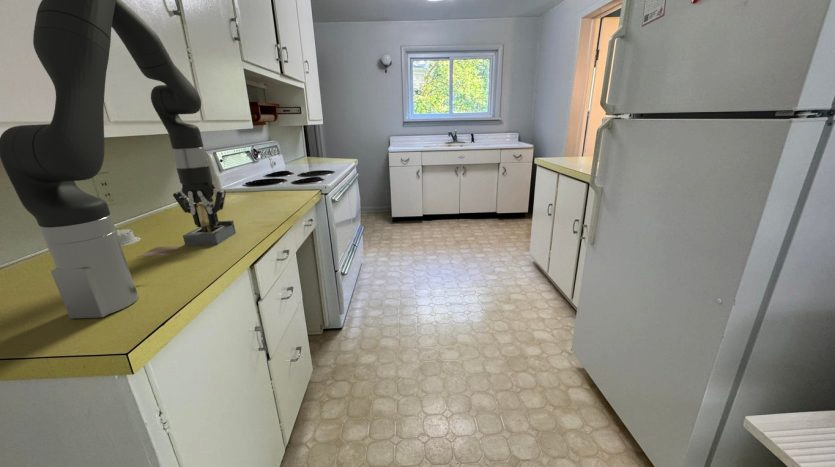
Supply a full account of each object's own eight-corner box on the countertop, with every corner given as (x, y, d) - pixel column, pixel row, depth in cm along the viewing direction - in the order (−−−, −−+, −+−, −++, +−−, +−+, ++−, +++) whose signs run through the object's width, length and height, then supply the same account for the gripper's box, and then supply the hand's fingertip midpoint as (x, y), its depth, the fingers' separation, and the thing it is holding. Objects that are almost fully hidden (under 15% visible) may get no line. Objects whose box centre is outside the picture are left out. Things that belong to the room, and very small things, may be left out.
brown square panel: (165, 259, 88) (164, 255, 87) (138, 260, 88) (137, 256, 88) (182, 249, 94) (181, 245, 94) (157, 250, 94) (156, 246, 94)
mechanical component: (93, 248, 98) (102, 256, 93) (88, 234, 97) (97, 240, 91) (136, 239, 106) (146, 245, 100) (131, 225, 104) (142, 230, 99)
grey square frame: (218, 247, 94) (214, 230, 93) (186, 249, 94) (181, 232, 93) (236, 236, 104) (233, 220, 102) (207, 237, 104) (203, 221, 102)
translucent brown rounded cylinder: (211, 233, 96) (204, 205, 94) (199, 233, 96) (192, 206, 94) (218, 229, 99) (211, 202, 97) (206, 229, 99) (200, 203, 97)
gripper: (156, 168, 88) (174, 231, 94) (210, 166, 88) (225, 229, 94) (175, 164, 95) (191, 223, 101) (226, 162, 95) (238, 221, 101)
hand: (207, 225), depth 97 cm, fingers closed on translucent brown rounded cylinder, 3 cm apart
